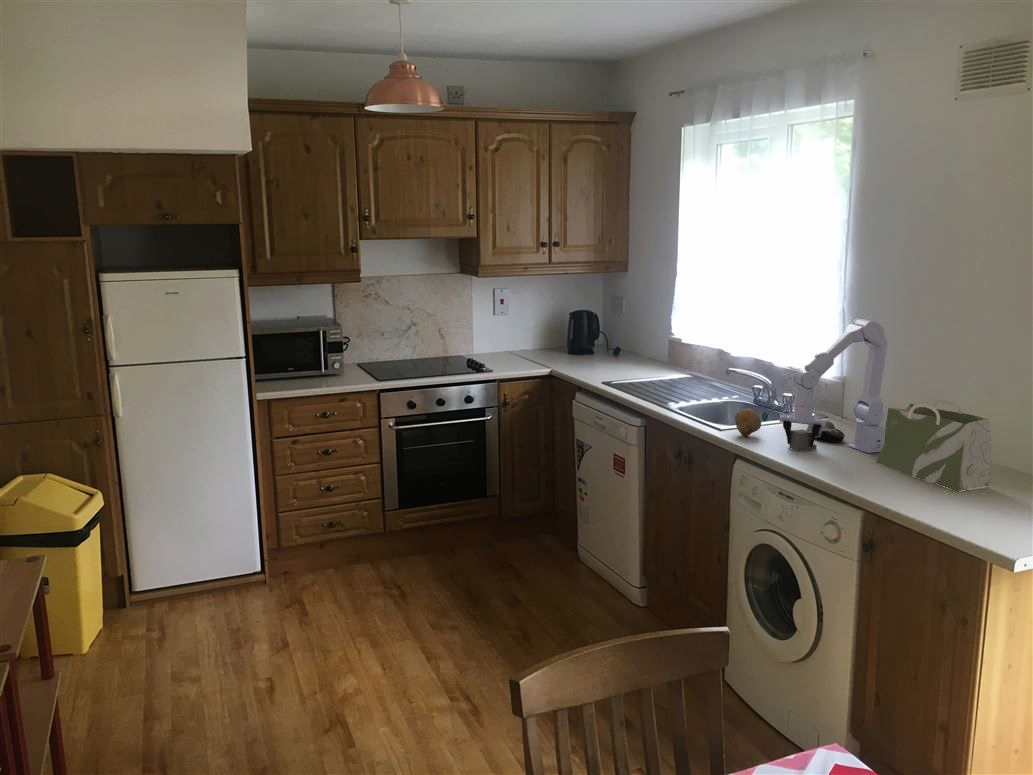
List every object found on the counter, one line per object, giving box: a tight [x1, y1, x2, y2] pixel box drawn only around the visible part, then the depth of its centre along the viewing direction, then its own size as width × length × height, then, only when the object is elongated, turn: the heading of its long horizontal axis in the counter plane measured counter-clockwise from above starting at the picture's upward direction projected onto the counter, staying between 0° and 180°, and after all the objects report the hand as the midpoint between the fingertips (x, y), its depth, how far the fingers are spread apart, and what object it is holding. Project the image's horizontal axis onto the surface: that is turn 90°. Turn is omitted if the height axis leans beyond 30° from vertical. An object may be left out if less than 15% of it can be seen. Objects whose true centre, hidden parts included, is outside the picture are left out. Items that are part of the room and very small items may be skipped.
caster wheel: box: [806, 415, 845, 444], centre depth 304 cm, size 7×11×10 cm
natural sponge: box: [734, 407, 762, 437], centre depth 306 cm, size 9×9×10 cm
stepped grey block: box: [789, 428, 817, 452], centre depth 291 cm, size 4×8×6 cm, turn 114°
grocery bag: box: [875, 398, 992, 493], centre depth 263 cm, size 32×14×23 cm, turn 23°
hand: (800, 444), depth 291 cm, fingers closed on stepped grey block, 7 cm apart
